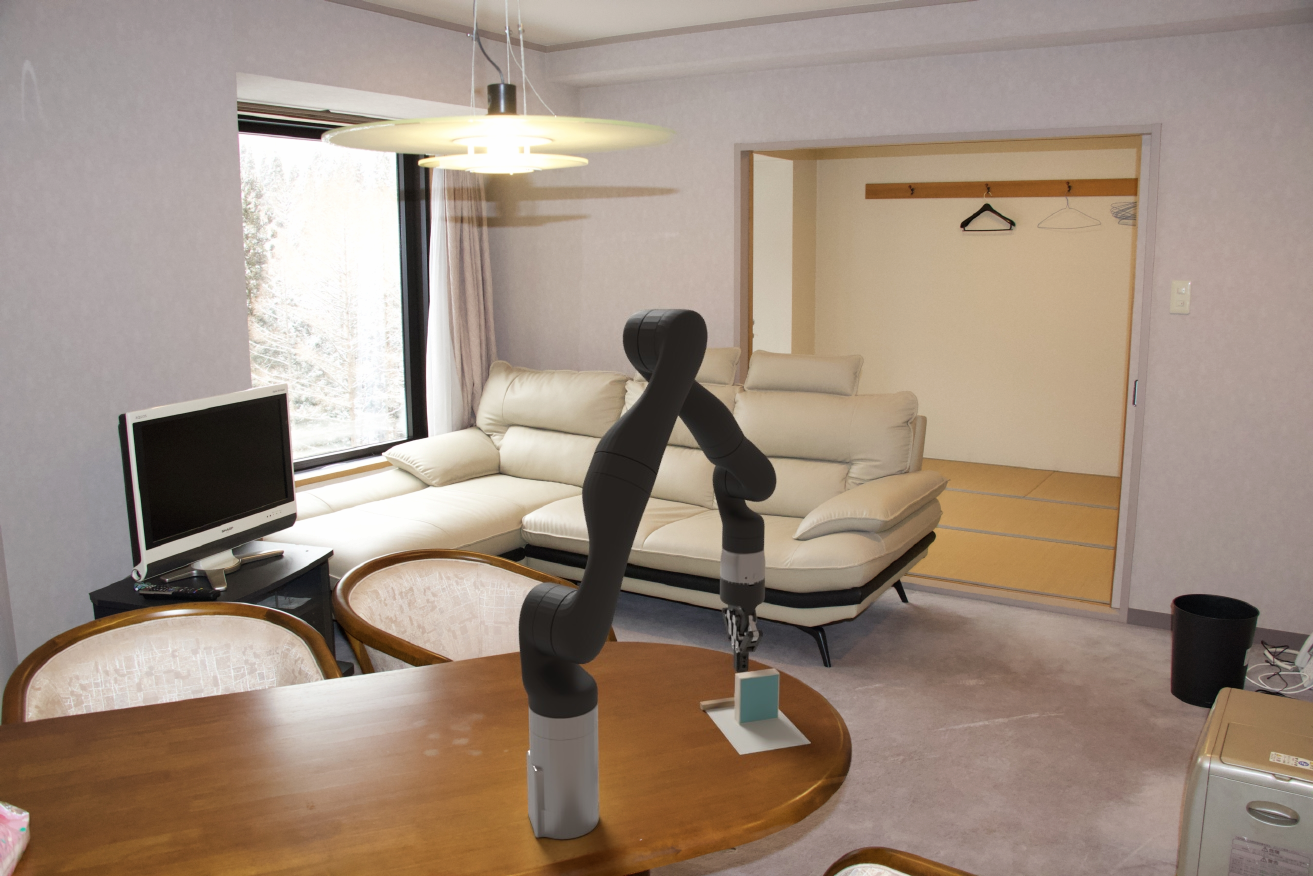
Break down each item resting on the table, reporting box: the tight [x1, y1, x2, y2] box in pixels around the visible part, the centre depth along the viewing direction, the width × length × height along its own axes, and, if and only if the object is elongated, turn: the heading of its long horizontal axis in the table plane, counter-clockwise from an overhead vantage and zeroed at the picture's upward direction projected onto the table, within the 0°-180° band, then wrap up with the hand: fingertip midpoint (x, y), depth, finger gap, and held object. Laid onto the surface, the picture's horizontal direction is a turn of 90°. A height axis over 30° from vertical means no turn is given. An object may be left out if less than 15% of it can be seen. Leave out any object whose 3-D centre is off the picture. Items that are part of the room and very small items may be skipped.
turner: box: [699, 693, 735, 712], centre depth 164 cm, size 12×5×1 cm, turn 107°
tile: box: [734, 668, 781, 725], centre depth 158 cm, size 7×2×8 cm, turn 107°
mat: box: [704, 706, 811, 756], centre depth 158 cm, size 12×18×1 cm, turn 17°
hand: (740, 670), depth 165 cm, fingers closed
